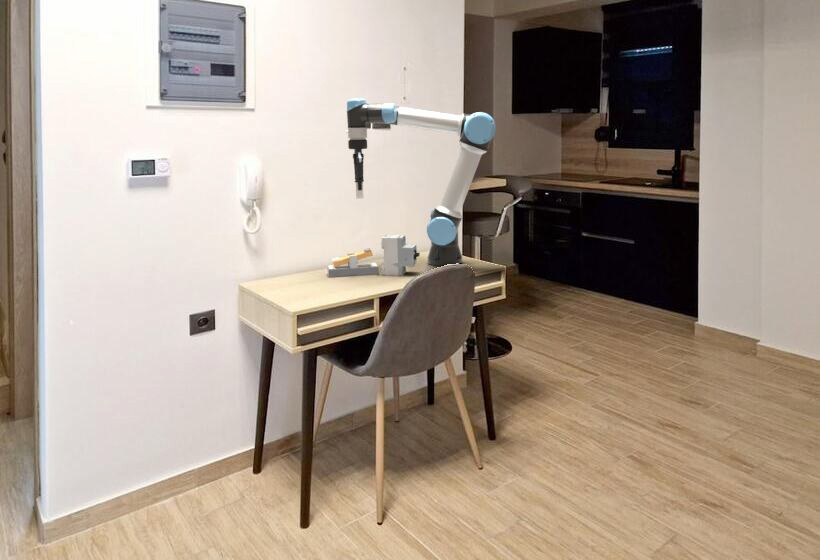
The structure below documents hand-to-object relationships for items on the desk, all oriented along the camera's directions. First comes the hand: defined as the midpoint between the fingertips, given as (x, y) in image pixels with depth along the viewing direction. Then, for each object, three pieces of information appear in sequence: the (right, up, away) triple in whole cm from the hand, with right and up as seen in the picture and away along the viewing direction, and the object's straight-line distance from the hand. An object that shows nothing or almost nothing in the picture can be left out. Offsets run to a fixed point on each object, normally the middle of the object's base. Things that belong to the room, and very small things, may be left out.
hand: (359, 198), depth 263 cm
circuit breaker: (+17, -31, -4) cm, 36 cm away
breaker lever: (-2, -25, -4) cm, 26 cm away
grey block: (-3, -31, -3) cm, 31 cm away
